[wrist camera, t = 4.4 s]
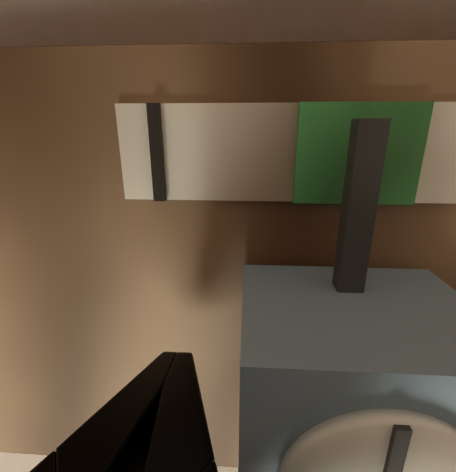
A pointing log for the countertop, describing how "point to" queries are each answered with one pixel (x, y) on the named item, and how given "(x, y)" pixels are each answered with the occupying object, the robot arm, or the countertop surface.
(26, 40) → the countertop surface
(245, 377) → the force gauge
